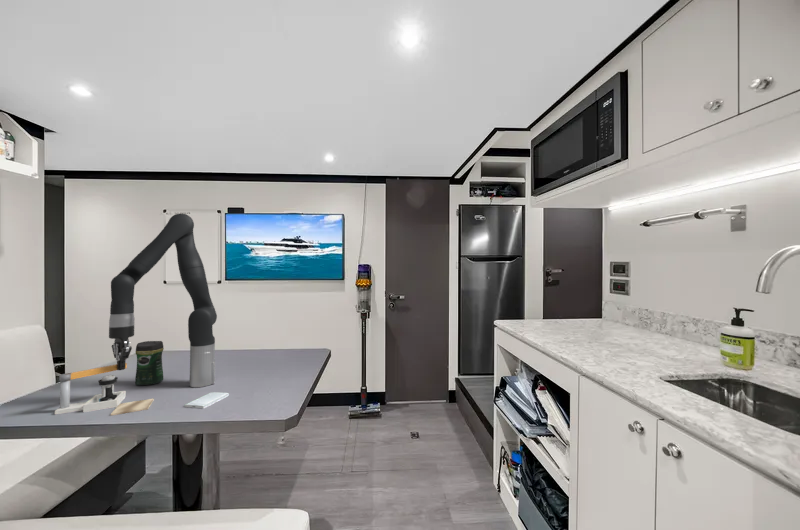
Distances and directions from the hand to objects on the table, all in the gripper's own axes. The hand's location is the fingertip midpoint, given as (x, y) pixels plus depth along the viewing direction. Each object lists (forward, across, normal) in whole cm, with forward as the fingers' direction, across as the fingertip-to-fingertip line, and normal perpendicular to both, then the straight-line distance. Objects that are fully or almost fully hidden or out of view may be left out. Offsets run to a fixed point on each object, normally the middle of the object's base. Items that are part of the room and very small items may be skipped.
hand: (121, 369), depth 124 cm
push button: (+11, -3, +5) cm, 13 cm away
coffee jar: (+11, +12, -14) cm, 21 cm away
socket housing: (+11, -1, +9) cm, 14 cm away
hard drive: (+12, -33, -16) cm, 39 cm away
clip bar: (0, +3, +7) cm, 7 cm away
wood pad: (+11, -16, +1) cm, 19 cm away
